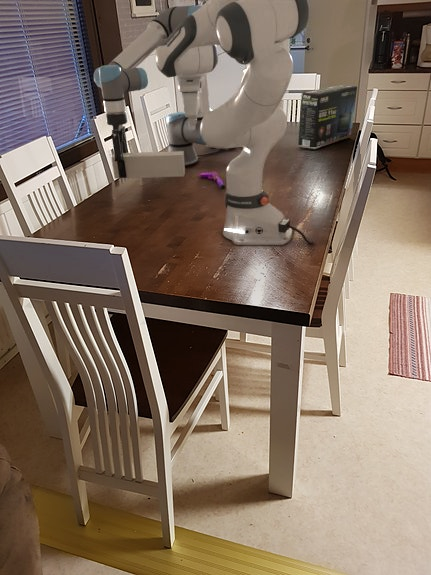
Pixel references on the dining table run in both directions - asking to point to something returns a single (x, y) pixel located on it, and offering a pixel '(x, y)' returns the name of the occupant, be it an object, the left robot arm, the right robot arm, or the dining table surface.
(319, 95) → the router box
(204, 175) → the handgun
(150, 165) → the bar
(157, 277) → the dining table surface
